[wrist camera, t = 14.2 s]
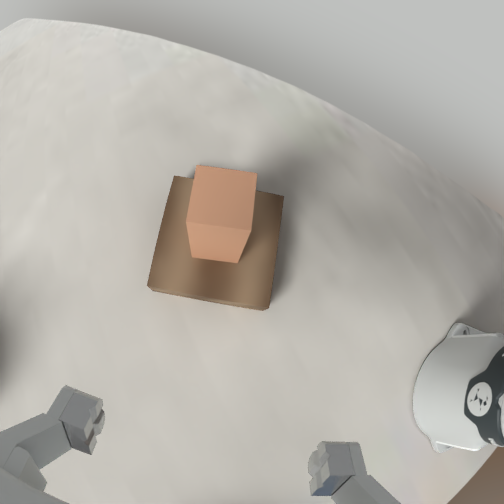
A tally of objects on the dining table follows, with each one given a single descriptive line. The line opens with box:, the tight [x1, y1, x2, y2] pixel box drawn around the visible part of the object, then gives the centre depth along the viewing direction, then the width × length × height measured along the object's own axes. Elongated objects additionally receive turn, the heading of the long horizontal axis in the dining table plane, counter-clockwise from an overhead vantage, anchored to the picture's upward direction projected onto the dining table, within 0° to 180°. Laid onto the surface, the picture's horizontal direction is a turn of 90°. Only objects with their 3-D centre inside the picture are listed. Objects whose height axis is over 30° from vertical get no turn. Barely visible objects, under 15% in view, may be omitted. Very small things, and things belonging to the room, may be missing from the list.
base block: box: [147, 176, 284, 311], centre depth 34 cm, size 12×12×4 cm
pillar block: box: [186, 165, 257, 263], centre depth 27 cm, size 4×4×10 cm
